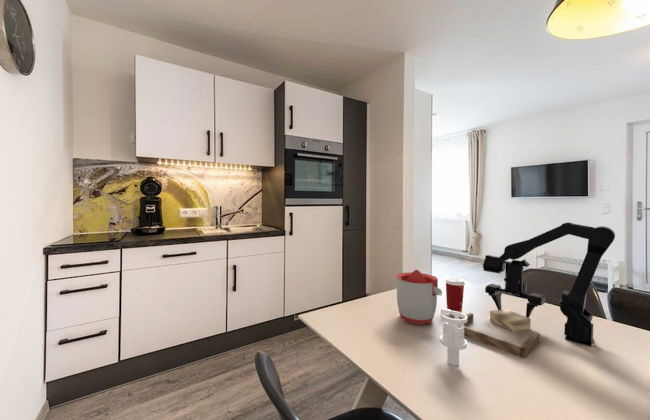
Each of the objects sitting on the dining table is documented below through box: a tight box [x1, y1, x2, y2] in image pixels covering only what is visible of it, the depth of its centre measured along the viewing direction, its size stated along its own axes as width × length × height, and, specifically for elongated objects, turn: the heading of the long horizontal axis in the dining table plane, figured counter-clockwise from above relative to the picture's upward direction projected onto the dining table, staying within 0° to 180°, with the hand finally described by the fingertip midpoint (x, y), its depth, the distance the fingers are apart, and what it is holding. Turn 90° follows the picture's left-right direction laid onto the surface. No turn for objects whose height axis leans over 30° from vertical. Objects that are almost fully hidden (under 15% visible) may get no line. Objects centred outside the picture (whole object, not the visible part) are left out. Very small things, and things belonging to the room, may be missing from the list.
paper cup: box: [444, 277, 466, 313], centre depth 116 cm, size 8×8×14 cm
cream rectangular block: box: [489, 308, 532, 332], centre depth 105 cm, size 10×8×4 cm
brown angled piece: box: [459, 312, 541, 360], centre depth 95 cm, size 22×15×3 cm
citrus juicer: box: [396, 269, 443, 326], centre depth 108 cm, size 16×17×20 cm
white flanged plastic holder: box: [439, 307, 468, 366], centre depth 79 cm, size 7×7×15 cm
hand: (513, 315), depth 107 cm, fingers open, 9 cm apart
